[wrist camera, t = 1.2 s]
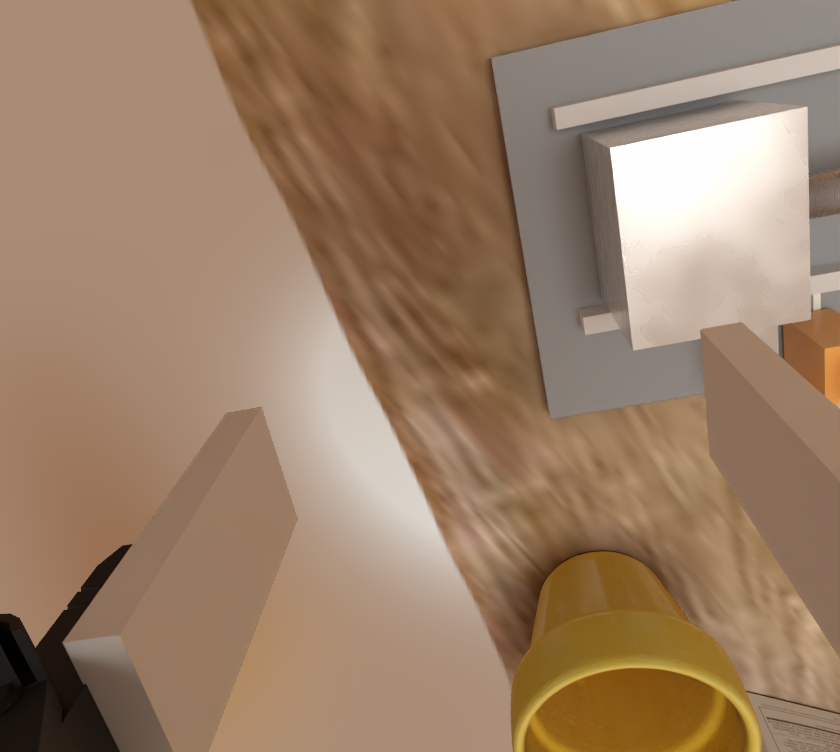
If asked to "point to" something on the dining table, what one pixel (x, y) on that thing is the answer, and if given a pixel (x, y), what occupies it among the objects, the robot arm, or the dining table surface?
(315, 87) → the dining table surface
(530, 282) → the grey slider board
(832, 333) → the orange t-shaped stamp
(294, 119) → the dining table surface
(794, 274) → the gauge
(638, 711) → the plant pot
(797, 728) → the supplement box
